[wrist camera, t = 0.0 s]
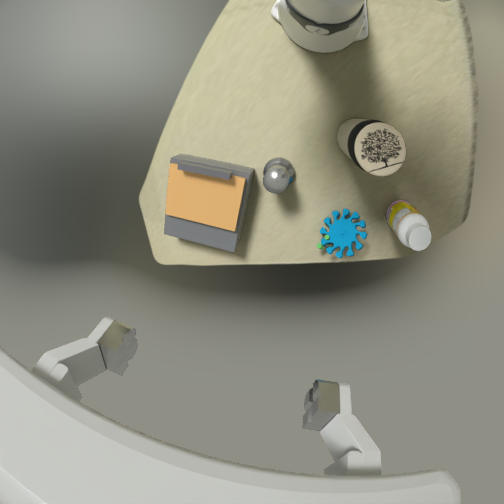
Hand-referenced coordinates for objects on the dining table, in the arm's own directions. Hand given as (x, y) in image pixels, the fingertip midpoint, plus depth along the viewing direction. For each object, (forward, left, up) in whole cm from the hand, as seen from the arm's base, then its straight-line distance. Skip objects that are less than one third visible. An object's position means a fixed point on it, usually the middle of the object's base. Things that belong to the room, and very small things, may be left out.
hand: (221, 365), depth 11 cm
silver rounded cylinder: (+2, -1, -48) cm, 48 cm away
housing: (+11, -14, -48) cm, 51 cm away
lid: (+9, -14, -43) cm, 46 cm away
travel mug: (-9, +12, -48) cm, 50 cm away
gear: (+10, +14, -48) cm, 51 cm away
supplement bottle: (+3, +26, -48) cm, 55 cm away
